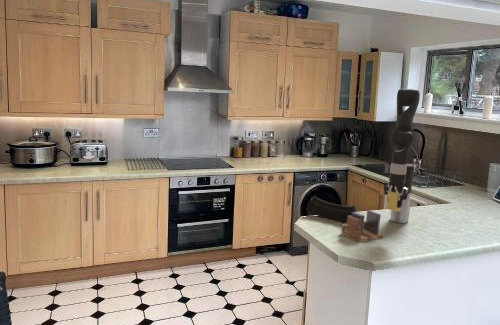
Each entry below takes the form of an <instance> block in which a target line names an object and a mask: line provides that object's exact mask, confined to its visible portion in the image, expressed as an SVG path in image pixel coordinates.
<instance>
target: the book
mask: <svg viewBox="0 0 500 325" xmlns="http://www.w3.org/2000/svg"><path fill="white" fill-rule="evenodd" d="M399 194H401V193H399ZM400 198H401V195H400ZM386 203H387V204H386V209H388V210H390V211H391V210H392V211H395V212H396V211H401V208H398V207H397V203H398V194H397V193H395V192H392V191H389V194H388V202H387V201H386Z"/></svg>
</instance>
